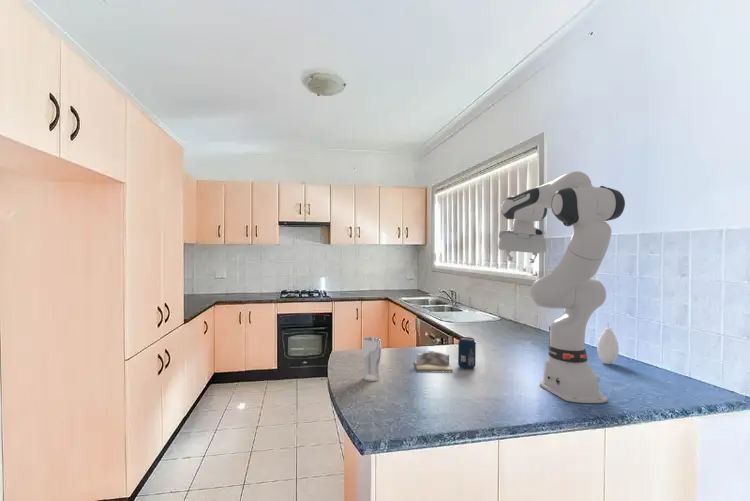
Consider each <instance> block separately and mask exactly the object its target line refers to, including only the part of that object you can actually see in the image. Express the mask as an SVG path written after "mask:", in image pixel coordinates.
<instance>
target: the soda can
mask: <svg viewBox="0 0 750 501" xmlns="http://www.w3.org/2000/svg"><path fill="white" fill-rule="evenodd" d="M457 344H458V345H457V346H458V352H457V353H458V355H457V358H458V359H457V360H458V362H457V364H458V366H459V368H460V369H462V368H463V369H462V370H466V369H471V370H474V369H475V368H476V355H477V354H476V349H477V348H476V345H477V343H476V341H475V338H474V337H470V336H469V337H468V336H464V337H463V336H462V337H460V338H459V341H458V343H457ZM473 368H474V369H473Z"/></svg>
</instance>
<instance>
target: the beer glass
mask: <svg viewBox="0 0 750 501" xmlns="http://www.w3.org/2000/svg"><path fill="white" fill-rule="evenodd" d="M362 340H363V341H362V357H363V364H364V372H363V380H364V381H367V382H377V381H380V379H381V378H380V377H381V376H380V363H381V357H382V340H381V337H378V336H366V337H364V338H363V339H362Z"/></svg>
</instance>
